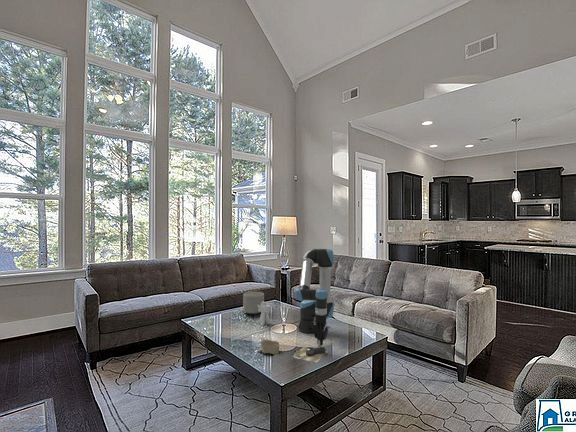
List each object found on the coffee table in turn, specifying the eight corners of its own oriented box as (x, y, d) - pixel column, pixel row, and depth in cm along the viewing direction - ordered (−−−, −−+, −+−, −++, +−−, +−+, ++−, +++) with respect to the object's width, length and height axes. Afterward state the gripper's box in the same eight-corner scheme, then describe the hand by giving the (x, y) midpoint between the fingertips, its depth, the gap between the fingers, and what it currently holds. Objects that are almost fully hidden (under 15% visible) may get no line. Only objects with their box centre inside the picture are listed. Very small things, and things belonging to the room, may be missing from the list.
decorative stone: (259, 349, 215) (259, 337, 215) (280, 351, 213) (280, 338, 214) (256, 354, 207) (256, 342, 207) (278, 356, 205) (278, 343, 205)
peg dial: (297, 357, 200) (297, 352, 200) (294, 353, 206) (294, 348, 206) (326, 353, 205) (326, 349, 205) (323, 350, 211) (323, 345, 211)
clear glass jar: (269, 326, 262) (270, 304, 262) (255, 324, 266) (255, 302, 267) (275, 321, 273) (275, 300, 274) (260, 320, 278) (260, 299, 278)
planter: (243, 310, 306) (243, 291, 306) (263, 310, 308) (263, 291, 308) (242, 316, 287) (243, 296, 287) (264, 316, 289) (264, 296, 289)
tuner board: (290, 358, 202) (290, 356, 202) (302, 347, 218) (302, 345, 219) (317, 364, 193) (317, 362, 193) (327, 353, 210) (327, 350, 210)
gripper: (309, 312, 211) (308, 348, 211) (325, 317, 203) (324, 354, 203) (316, 310, 217) (315, 345, 217) (332, 314, 208) (331, 350, 208)
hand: (319, 349), depth 210 cm, fingers closed
